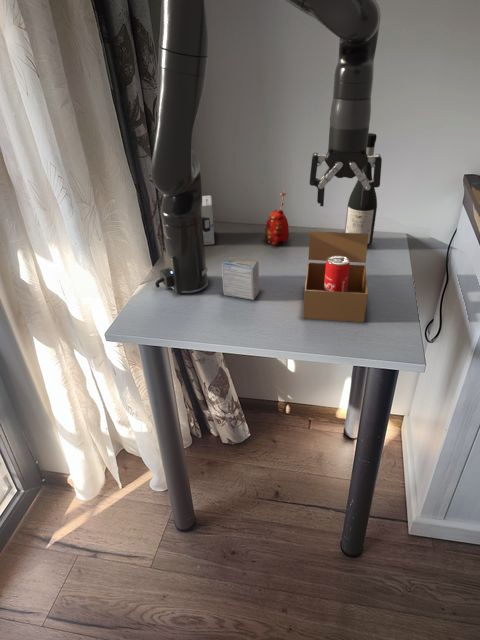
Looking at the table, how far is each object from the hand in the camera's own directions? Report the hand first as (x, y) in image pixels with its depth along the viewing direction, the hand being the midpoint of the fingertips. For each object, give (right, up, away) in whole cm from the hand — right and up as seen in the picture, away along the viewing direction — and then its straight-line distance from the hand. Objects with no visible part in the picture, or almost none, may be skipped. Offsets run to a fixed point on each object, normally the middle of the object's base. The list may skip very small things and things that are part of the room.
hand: (342, 205), depth 102 cm
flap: (+1, -6, +11) cm, 13 cm away
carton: (0, -20, +12) cm, 23 cm away
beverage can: (0, -21, +10) cm, 23 cm away
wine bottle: (+11, 0, +39) cm, 40 cm away
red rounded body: (-13, +1, +40) cm, 42 cm away
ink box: (-34, +3, +42) cm, 54 cm away
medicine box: (-22, -17, +16) cm, 32 cm away
